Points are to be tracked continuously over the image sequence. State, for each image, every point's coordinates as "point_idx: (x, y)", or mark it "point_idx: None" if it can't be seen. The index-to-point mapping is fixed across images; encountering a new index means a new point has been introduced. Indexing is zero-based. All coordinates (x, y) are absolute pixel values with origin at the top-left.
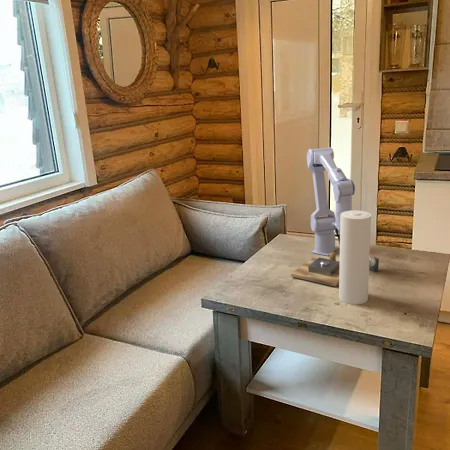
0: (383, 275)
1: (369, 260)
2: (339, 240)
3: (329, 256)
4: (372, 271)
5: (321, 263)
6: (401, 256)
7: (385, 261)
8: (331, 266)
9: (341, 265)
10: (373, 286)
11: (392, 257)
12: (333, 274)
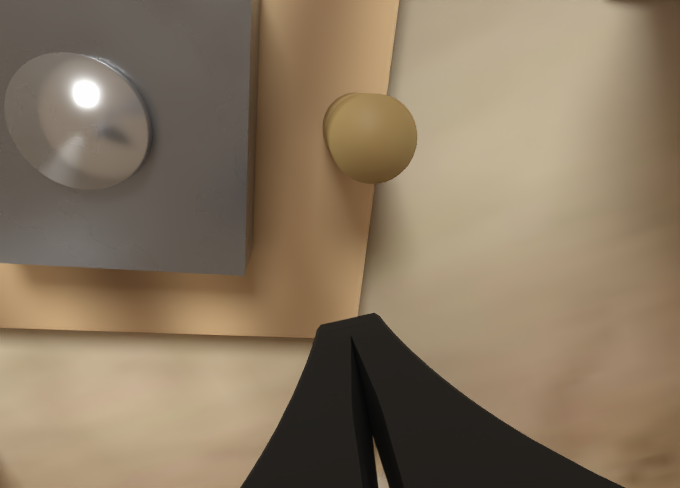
0: None
1: (379, 475)
2: (293, 420)
3: (353, 95)
4: None
5: (13, 95)
6: (665, 477)
7: (567, 430)
8: (53, 231)
9: None
10: (141, 482)
11: (643, 444)
12: None
